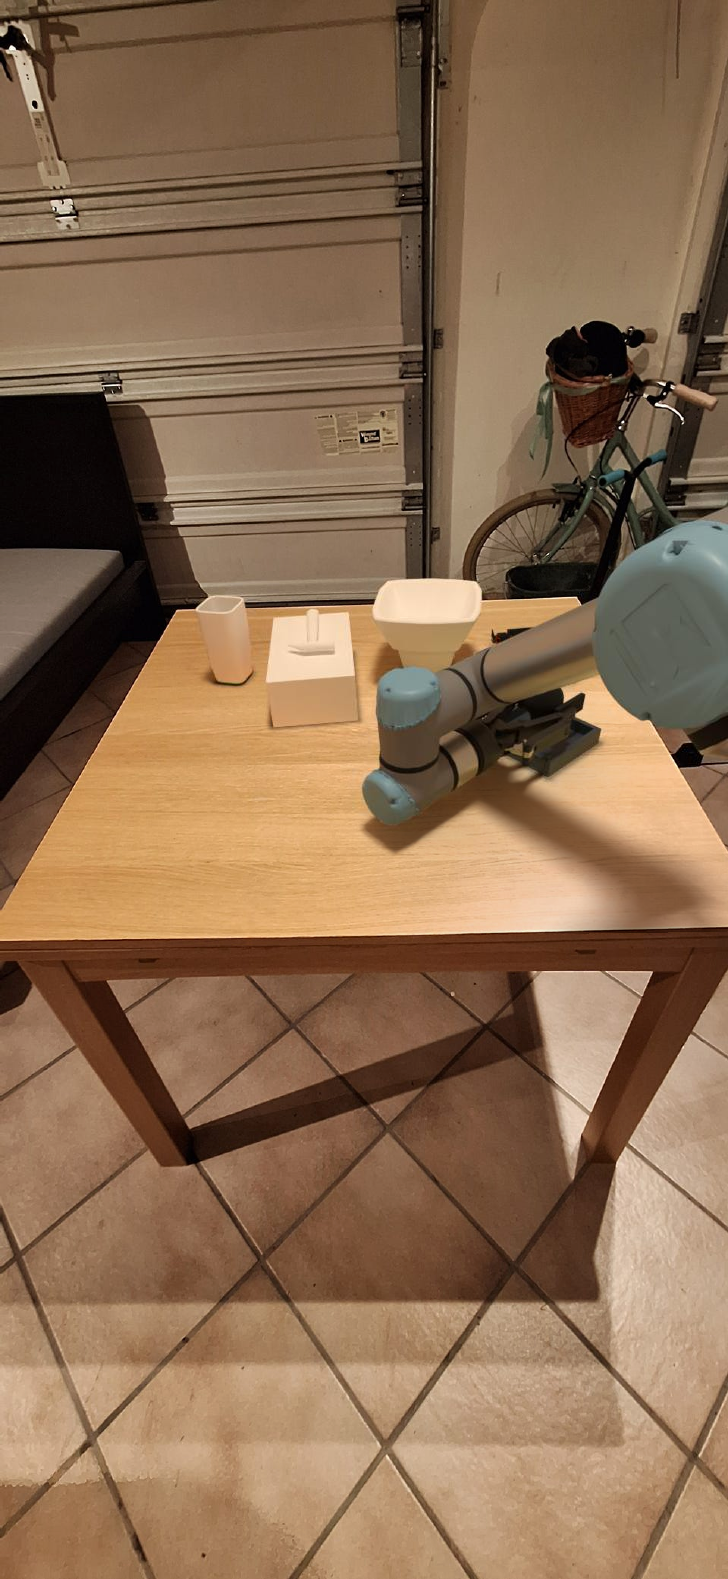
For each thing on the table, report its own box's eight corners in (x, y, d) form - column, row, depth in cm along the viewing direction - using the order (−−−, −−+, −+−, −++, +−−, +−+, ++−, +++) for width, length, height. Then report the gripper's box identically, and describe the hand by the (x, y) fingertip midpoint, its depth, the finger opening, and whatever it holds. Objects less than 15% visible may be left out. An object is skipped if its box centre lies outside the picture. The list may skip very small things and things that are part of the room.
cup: (226, 667, 125) (210, 594, 116) (259, 670, 123) (246, 596, 114) (209, 685, 120) (191, 611, 110) (244, 689, 118) (229, 613, 108)
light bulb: (564, 743, 98) (574, 686, 92) (531, 752, 97) (539, 695, 90) (544, 724, 102) (552, 668, 96) (512, 732, 101) (518, 677, 95)
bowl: (371, 694, 114) (367, 621, 105) (385, 645, 129) (382, 577, 120) (476, 697, 111) (480, 623, 102) (478, 647, 126) (482, 578, 117)
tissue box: (273, 727, 107) (263, 669, 100) (279, 658, 127) (271, 606, 120) (358, 720, 107) (353, 662, 100) (351, 652, 127) (347, 600, 120)
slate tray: (598, 742, 99) (601, 728, 97) (548, 777, 93) (550, 762, 91) (528, 709, 107) (530, 696, 106) (478, 739, 101) (479, 725, 100)
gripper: (413, 747, 96) (513, 691, 107) (511, 807, 84) (612, 737, 95) (413, 704, 91) (518, 651, 102) (517, 762, 79) (623, 694, 90)
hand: (563, 693), depth 98 cm, fingers open, 6 cm apart
